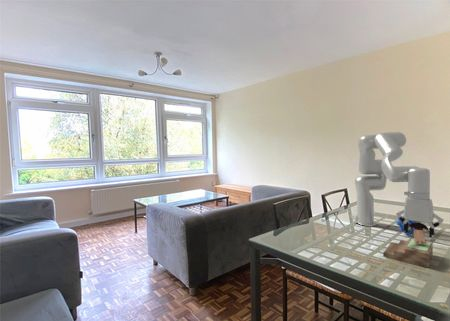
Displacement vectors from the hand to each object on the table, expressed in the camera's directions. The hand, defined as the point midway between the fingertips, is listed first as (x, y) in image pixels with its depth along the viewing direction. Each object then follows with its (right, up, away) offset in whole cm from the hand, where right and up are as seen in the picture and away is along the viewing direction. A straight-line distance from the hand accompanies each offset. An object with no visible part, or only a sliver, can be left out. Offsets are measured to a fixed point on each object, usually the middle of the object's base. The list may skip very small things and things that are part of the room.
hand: (418, 233), depth 107 cm
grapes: (+15, -10, +25) cm, 31 cm away
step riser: (-2, -11, +3) cm, 12 cm away
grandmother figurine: (0, -4, 0) cm, 4 cm away
